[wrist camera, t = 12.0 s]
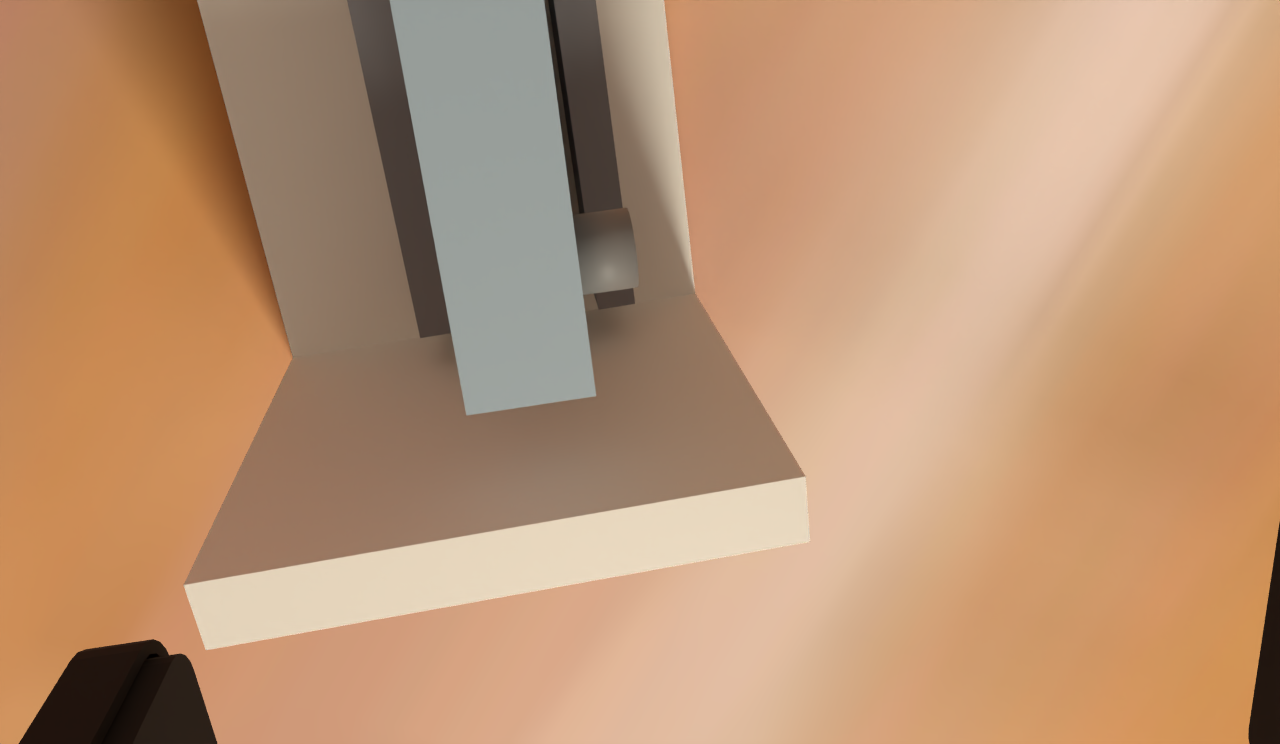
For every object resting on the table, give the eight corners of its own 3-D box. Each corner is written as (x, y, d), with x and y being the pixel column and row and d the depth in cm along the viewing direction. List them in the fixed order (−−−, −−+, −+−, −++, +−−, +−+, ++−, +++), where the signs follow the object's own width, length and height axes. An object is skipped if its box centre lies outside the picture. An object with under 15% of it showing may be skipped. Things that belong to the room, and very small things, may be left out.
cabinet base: (622, -345, 26) (731, -587, 14) (695, 330, 33) (810, 542, 21) (128, -290, 25) (-189, -500, 13) (309, 393, 32) (205, 650, 20)
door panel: (551, -153, 27) (595, -225, 16) (598, 229, 31) (660, 386, 20) (409, -138, 26) (351, -201, 15) (474, 246, 30) (466, 415, 19)
